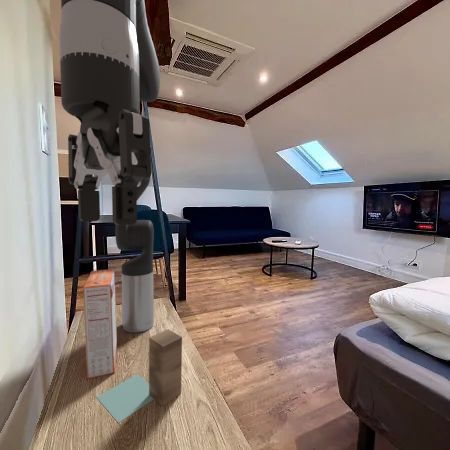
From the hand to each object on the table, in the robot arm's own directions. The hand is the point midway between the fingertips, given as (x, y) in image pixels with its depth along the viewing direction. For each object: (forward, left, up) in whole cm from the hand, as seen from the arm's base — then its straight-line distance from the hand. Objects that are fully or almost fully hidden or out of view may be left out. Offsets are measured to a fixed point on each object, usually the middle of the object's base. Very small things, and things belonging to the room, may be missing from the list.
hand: (105, 222), depth 28 cm
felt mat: (-17, +12, -36) cm, 42 cm away
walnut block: (-12, +17, -36) cm, 41 cm away
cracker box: (-33, +14, -37) cm, 51 cm away
